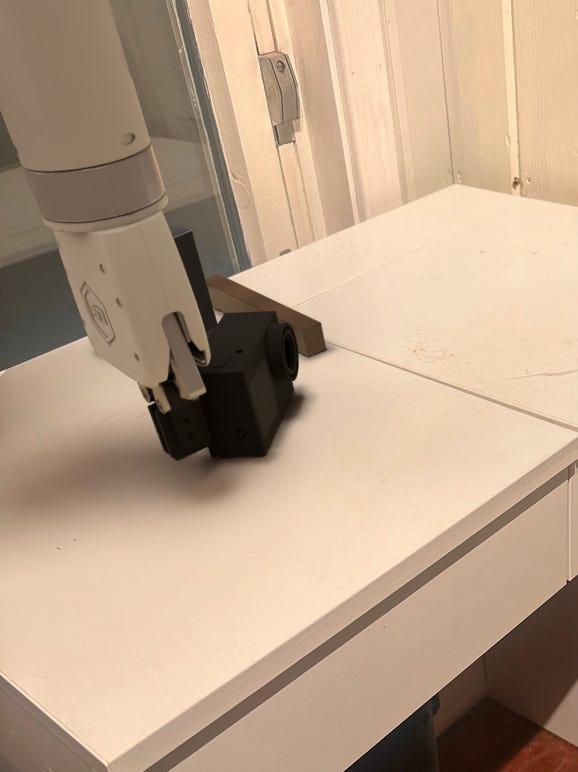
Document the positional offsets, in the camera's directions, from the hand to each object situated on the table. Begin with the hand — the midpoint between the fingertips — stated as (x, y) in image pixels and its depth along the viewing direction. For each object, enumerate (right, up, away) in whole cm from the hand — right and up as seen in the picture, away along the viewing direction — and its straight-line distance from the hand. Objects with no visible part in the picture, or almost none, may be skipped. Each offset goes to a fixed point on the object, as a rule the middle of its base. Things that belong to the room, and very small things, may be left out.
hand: (188, 449), depth 68 cm
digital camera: (+4, +3, +5) cm, 7 cm away
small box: (-8, +13, +17) cm, 22 cm away
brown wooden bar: (+1, +16, +19) cm, 24 cm away
